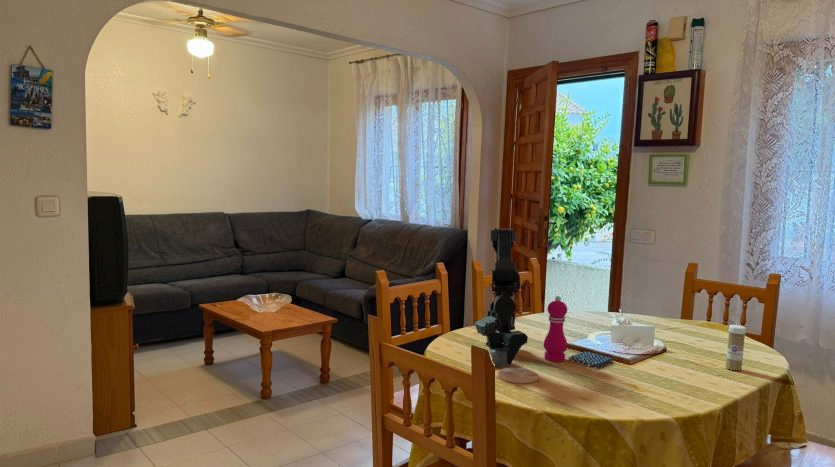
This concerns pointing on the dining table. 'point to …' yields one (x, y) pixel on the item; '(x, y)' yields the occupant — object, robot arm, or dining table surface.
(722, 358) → the dining table surface
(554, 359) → the pepper mill
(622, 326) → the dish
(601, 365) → the woven mat
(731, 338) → the sprinkles bottle
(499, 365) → the charcoal plug
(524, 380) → the terracotta coaster
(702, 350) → the dining table surface
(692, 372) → the dining table surface
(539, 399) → the dining table surface
